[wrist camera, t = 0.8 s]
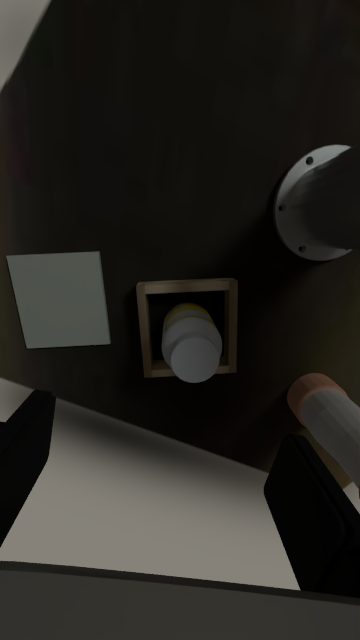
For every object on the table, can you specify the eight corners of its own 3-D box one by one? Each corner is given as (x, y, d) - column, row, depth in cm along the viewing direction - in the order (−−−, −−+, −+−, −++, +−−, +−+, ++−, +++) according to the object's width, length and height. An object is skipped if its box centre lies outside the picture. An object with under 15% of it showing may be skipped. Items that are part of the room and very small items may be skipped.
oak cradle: (232, 277, 35) (237, 281, 32) (231, 362, 38) (236, 372, 35) (138, 282, 35) (136, 286, 32) (146, 367, 38) (144, 377, 35)
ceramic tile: (99, 251, 33) (98, 251, 33) (110, 342, 37) (109, 344, 36) (9, 255, 33) (6, 255, 33) (29, 346, 37) (26, 348, 36)
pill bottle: (191, 355, 38) (200, 403, 27) (153, 329, 37) (146, 368, 25) (221, 319, 36) (243, 354, 25) (182, 291, 35) (188, 315, 24)
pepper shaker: (284, 417, 41) (376, 559, 23) (288, 374, 39) (392, 492, 21) (332, 414, 41) (460, 553, 23) (338, 371, 39) (484, 487, 21)
